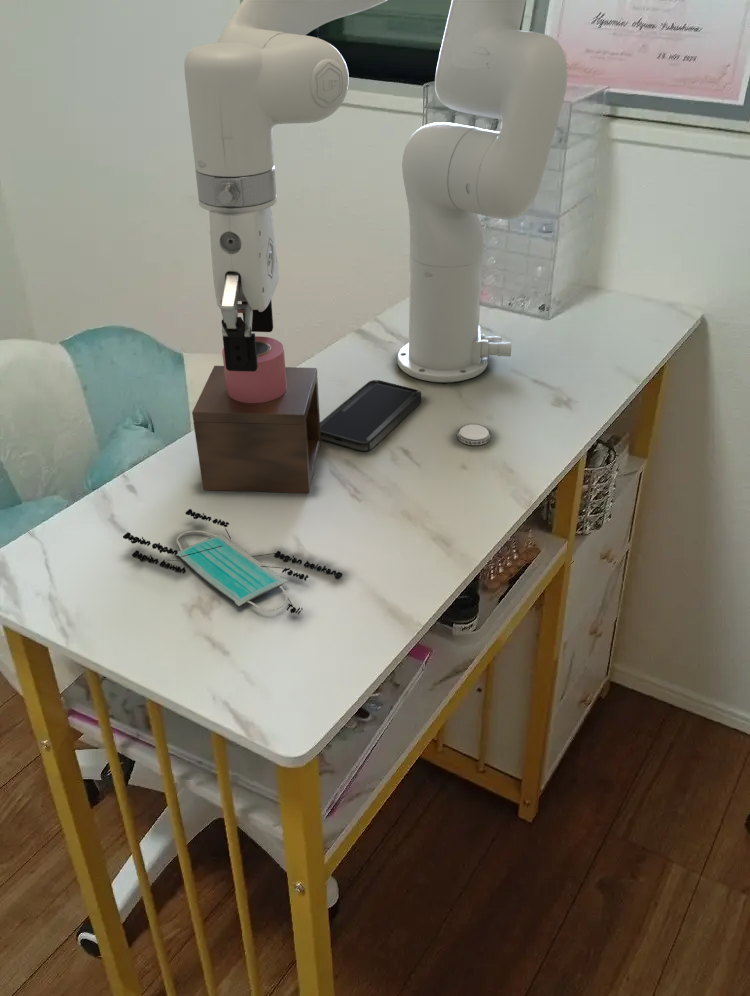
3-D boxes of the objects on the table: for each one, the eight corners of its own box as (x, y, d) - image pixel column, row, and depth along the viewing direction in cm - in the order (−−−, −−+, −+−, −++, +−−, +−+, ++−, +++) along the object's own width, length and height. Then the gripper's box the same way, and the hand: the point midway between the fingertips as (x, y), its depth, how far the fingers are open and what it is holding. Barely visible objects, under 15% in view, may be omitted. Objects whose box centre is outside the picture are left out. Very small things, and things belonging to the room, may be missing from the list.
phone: (424, 391, 117) (367, 444, 107) (424, 399, 118) (367, 452, 107) (371, 378, 121) (311, 428, 110) (371, 385, 121) (311, 436, 111)
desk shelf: (321, 441, 110) (317, 367, 104) (309, 493, 101) (304, 415, 95) (223, 439, 111) (214, 365, 105) (203, 490, 102) (191, 412, 96)
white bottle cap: (452, 440, 109) (452, 436, 109) (464, 425, 112) (464, 421, 112) (483, 447, 108) (484, 443, 108) (494, 432, 111) (495, 427, 111)
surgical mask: (110, 535, 88) (173, 482, 95) (118, 569, 90) (179, 515, 98) (291, 597, 80) (345, 534, 87) (295, 632, 83) (347, 568, 90)
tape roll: (290, 375, 103) (288, 335, 100) (282, 404, 97) (278, 362, 94) (233, 374, 103) (228, 334, 100) (221, 402, 98) (216, 361, 95)
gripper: (259, 214, 80) (272, 388, 90) (288, 164, 94) (297, 318, 104) (175, 213, 81) (197, 385, 90) (217, 163, 95) (232, 316, 104)
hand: (250, 349), depth 97 cm, fingers open, 9 cm apart
